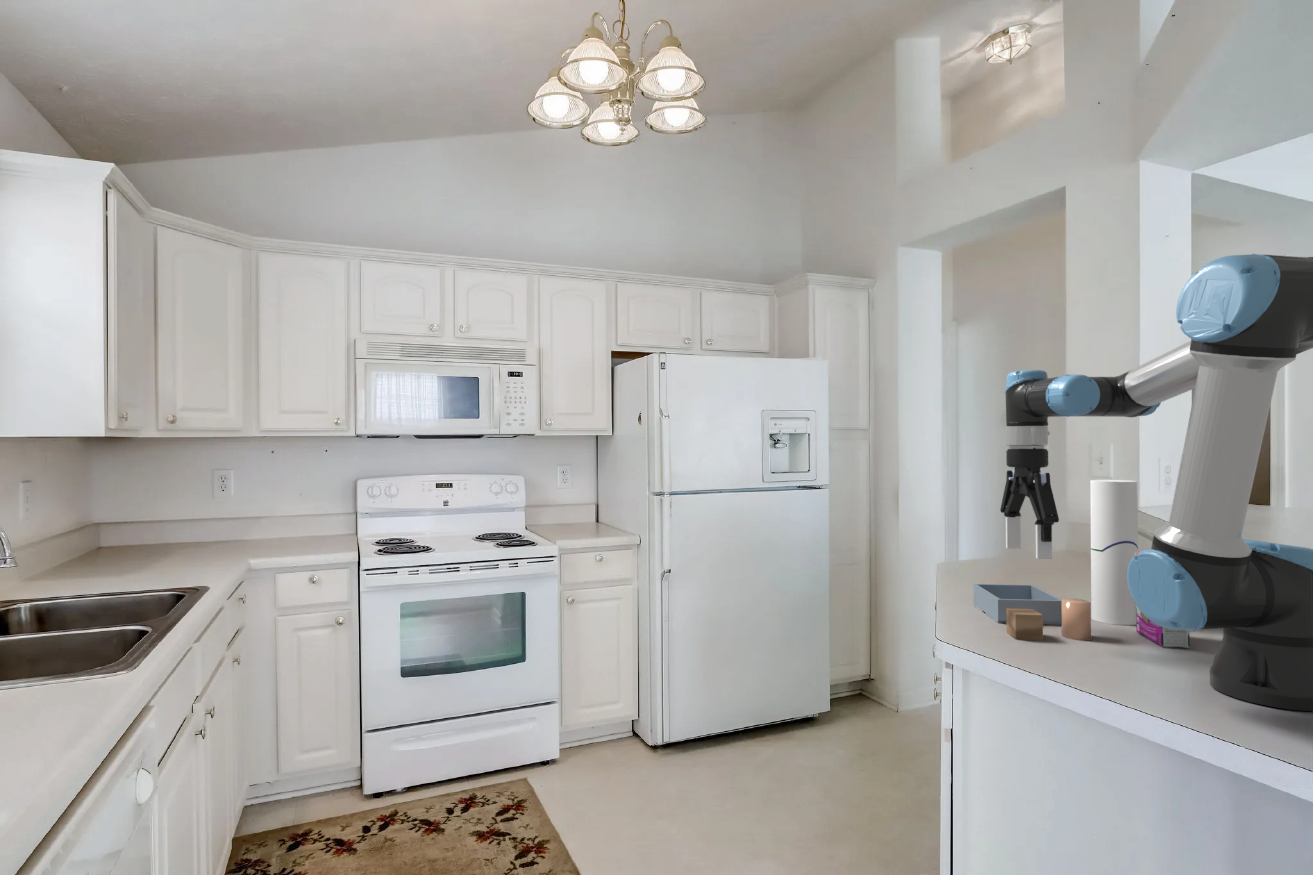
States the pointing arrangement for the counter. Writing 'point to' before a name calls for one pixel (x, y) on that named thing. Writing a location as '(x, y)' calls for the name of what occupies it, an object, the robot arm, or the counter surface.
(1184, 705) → the counter surface
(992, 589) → the tote
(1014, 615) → the walnut cube
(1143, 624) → the candy bar box
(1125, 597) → the container
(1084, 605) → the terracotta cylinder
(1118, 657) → the counter surface
